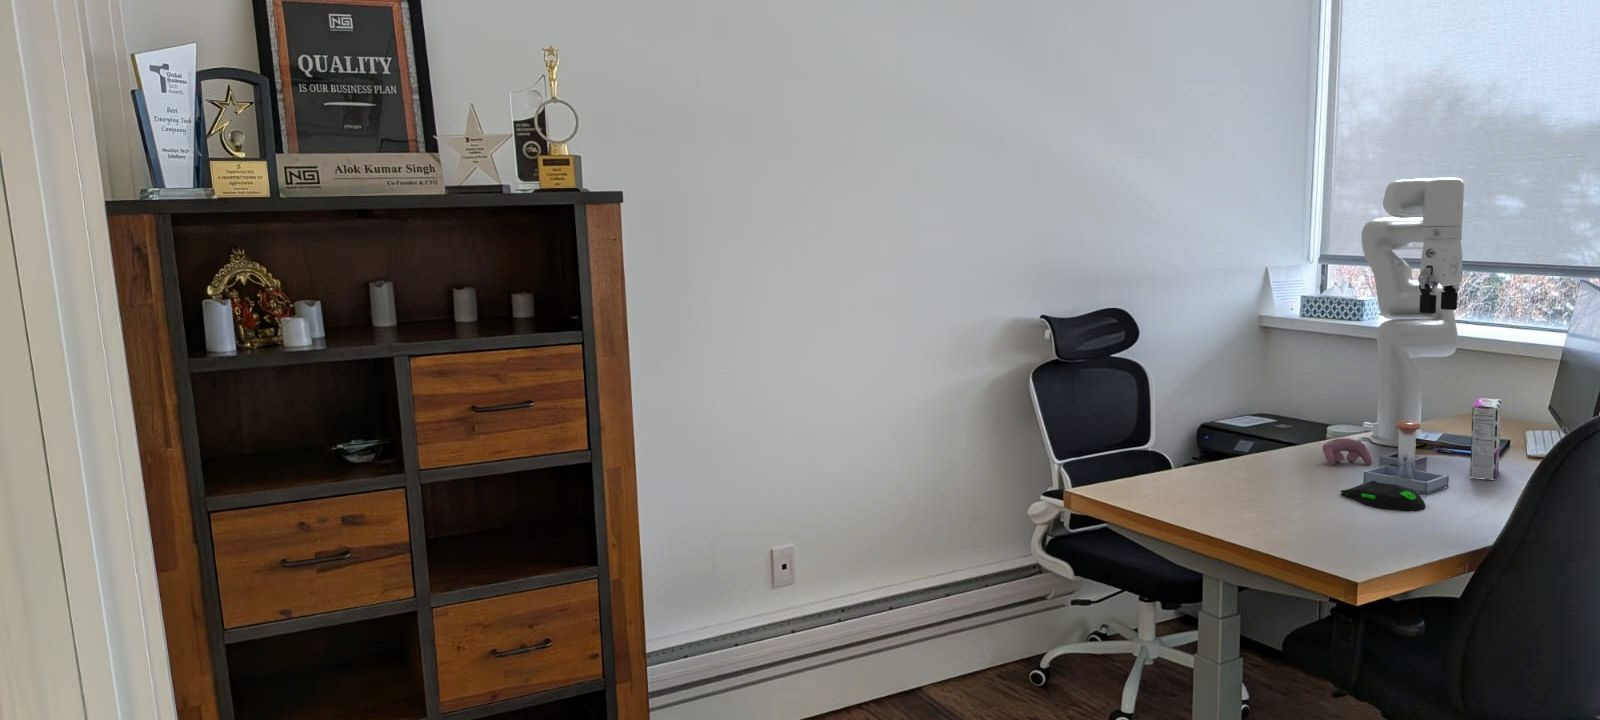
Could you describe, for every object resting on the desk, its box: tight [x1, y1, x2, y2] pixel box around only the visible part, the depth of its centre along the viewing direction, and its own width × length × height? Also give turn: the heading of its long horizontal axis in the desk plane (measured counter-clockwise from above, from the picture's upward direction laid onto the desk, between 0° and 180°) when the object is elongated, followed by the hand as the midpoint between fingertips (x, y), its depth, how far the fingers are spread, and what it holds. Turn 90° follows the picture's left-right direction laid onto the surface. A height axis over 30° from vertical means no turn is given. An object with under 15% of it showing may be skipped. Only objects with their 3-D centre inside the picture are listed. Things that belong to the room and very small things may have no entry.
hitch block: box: [1378, 451, 1428, 472], centre depth 232 cm, size 7×7×4 cm
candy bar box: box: [1469, 397, 1502, 480], centre depth 229 cm, size 11×5×16 cm, turn 143°
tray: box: [1362, 465, 1450, 495], centre depth 223 cm, size 13×9×2 cm
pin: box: [1396, 421, 1421, 480], centre depth 223 cm, size 5×5×13 cm
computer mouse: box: [1340, 481, 1426, 513], centre depth 212 cm, size 11×16×4 cm
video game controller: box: [1321, 437, 1372, 467], centre depth 244 cm, size 10×5×7 cm, turn 85°
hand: (1438, 311), depth 231 cm, fingers open, 9 cm apart
